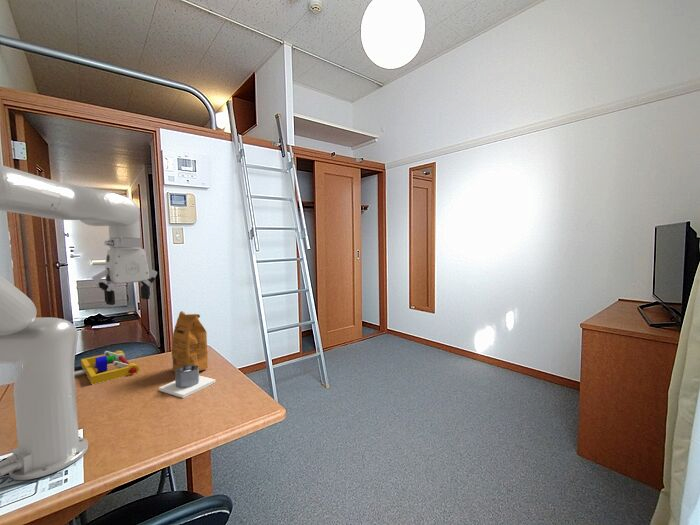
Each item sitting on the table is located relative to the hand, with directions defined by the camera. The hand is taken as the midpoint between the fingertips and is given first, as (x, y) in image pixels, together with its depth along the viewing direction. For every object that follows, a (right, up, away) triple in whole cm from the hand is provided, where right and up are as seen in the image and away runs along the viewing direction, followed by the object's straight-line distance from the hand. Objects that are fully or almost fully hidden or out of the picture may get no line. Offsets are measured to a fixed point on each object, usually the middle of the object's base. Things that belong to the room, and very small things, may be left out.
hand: (128, 301), depth 94 cm
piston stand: (+12, -30, +10) cm, 34 cm away
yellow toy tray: (-28, -30, +25) cm, 48 cm away
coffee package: (+6, -29, +24) cm, 38 cm away
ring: (+12, -29, +10) cm, 33 cm away
